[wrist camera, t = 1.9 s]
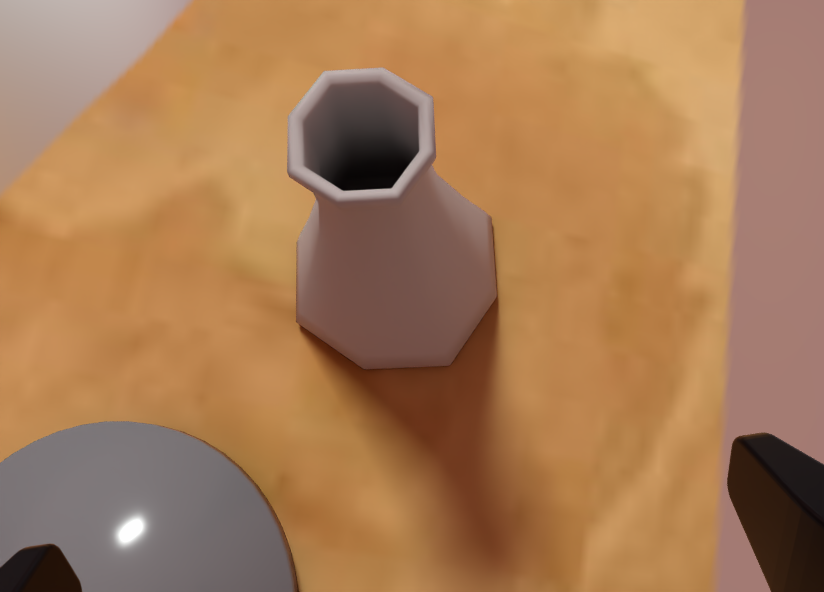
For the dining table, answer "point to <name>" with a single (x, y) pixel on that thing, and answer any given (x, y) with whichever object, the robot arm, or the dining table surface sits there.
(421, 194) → the flask
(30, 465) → the slate coaster
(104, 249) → the dining table surface
